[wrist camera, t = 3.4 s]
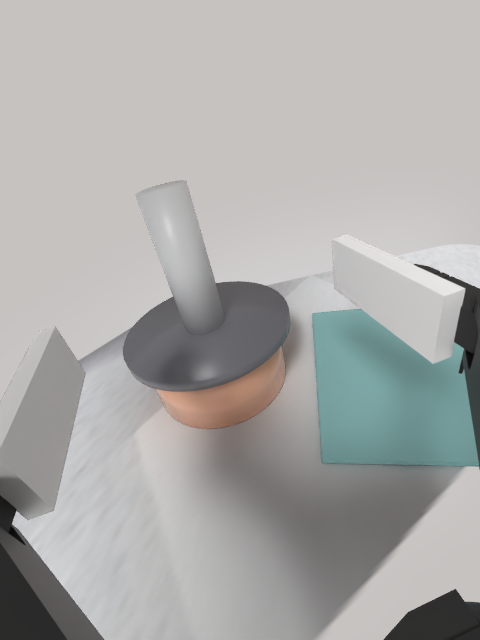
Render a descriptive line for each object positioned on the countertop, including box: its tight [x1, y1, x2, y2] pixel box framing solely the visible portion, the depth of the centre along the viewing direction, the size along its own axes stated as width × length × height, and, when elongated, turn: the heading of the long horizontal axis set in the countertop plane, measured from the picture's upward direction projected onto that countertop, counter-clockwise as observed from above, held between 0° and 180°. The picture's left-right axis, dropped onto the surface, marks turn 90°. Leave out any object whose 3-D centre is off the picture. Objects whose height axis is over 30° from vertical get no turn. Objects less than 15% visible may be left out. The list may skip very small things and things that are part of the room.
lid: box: [123, 181, 290, 392], centre depth 22 cm, size 13×13×11 cm
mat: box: [312, 309, 479, 466], centre depth 24 cm, size 15×16×1 cm
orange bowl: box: [156, 346, 286, 429], centre depth 26 cm, size 11×11×5 cm
